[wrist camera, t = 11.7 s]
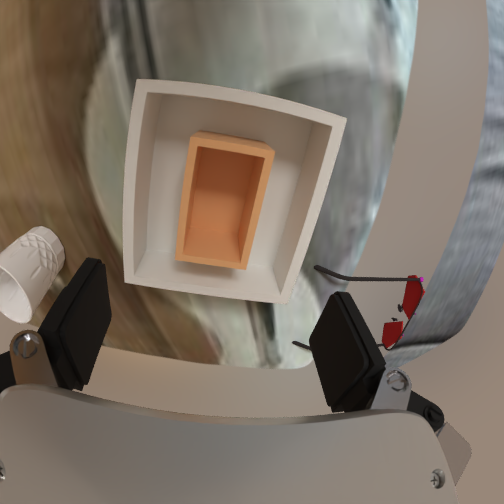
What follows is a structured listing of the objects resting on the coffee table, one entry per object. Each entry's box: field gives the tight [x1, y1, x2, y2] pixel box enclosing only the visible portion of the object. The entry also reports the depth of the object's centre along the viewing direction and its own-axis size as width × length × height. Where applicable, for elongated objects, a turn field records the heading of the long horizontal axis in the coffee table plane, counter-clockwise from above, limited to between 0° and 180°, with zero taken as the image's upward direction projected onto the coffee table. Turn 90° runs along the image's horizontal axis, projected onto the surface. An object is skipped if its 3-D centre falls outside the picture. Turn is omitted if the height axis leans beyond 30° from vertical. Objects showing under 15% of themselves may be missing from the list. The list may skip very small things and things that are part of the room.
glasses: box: [292, 265, 425, 351], centre depth 35 cm, size 14×16×5 cm
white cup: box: [0, 226, 65, 323], centre depth 23 cm, size 8×8×10 cm
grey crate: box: [123, 79, 347, 304], centre depth 23 cm, size 18×16×6 cm
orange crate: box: [175, 130, 275, 270], centre depth 23 cm, size 10×6×6 cm, turn 168°
